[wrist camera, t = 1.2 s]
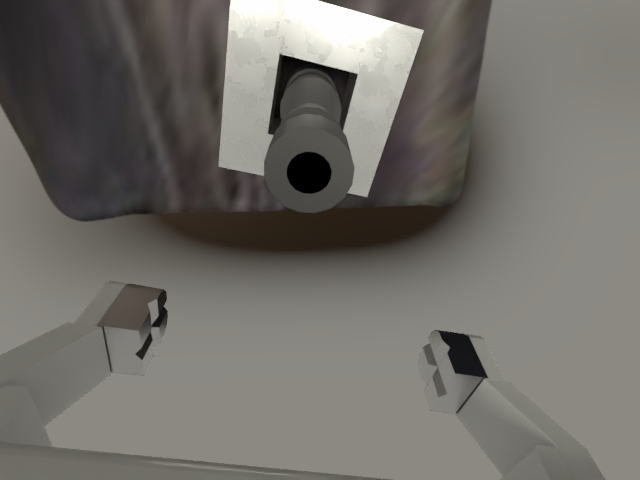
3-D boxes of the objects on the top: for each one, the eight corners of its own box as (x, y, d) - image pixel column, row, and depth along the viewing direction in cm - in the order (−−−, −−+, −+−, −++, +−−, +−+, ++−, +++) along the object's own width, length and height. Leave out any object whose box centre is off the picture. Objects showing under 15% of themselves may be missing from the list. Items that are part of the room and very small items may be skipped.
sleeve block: (230, 146, 46) (218, 166, 40) (245, -19, 36) (232, -24, 30) (360, 174, 48) (367, 197, 43) (407, 26, 39) (423, 30, 33)
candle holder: (276, 80, 42) (238, 154, 21) (321, 52, 40) (330, 102, 19) (302, 126, 45) (292, 230, 24) (345, 102, 43) (374, 191, 22)
